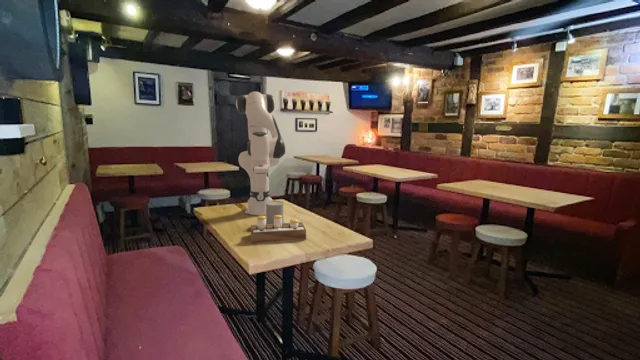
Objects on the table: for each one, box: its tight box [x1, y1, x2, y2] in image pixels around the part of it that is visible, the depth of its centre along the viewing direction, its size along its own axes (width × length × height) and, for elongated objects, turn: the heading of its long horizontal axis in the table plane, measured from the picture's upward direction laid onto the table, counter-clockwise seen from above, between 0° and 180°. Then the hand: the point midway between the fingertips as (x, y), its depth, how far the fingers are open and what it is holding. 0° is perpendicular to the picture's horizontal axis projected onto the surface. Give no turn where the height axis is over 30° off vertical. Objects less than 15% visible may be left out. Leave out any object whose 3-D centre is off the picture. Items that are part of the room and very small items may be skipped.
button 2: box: [289, 218, 299, 228], centre depth 166 cm, size 4×4×8 cm
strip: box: [253, 227, 304, 233], centre depth 160 cm, size 3×24×1 cm, turn 102°
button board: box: [250, 222, 307, 244], centre depth 165 cm, size 12×26×5 cm, turn 102°
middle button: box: [274, 215, 282, 229], centre depth 164 cm, size 4×4×8 cm
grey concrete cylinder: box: [265, 200, 285, 224], centre depth 184 cm, size 10×10×12 cm
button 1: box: [256, 215, 266, 230], centre depth 163 cm, size 4×4×8 cm
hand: (261, 195), depth 160 cm, fingers closed
